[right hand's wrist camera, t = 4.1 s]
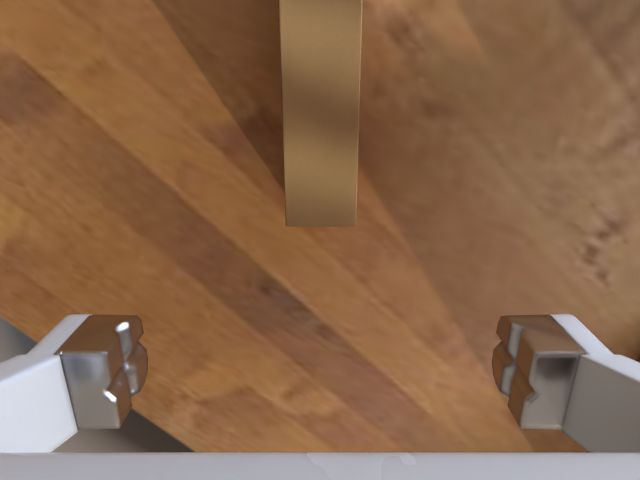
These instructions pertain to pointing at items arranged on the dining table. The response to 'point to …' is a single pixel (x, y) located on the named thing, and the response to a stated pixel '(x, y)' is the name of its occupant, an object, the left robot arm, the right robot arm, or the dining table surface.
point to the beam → (320, 109)
